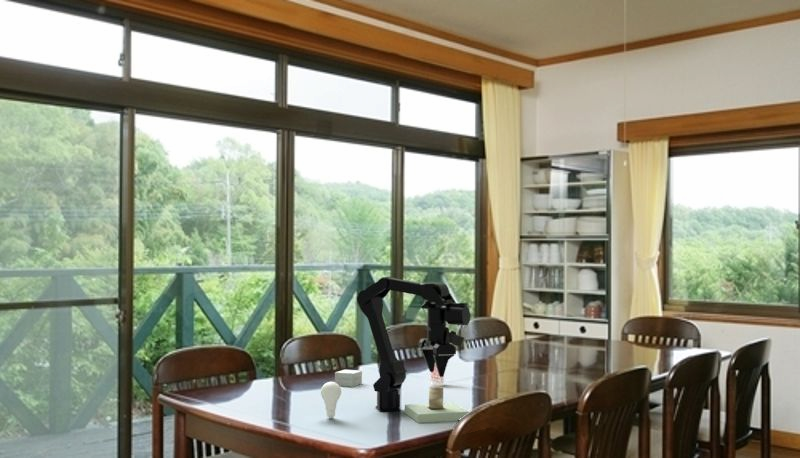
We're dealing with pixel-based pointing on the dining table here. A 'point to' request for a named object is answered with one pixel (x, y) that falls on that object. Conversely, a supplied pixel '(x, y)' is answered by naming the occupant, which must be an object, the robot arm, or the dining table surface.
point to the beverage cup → (436, 378)
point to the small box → (348, 378)
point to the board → (435, 412)
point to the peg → (436, 398)
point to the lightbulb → (330, 397)
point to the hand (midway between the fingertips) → (436, 374)
